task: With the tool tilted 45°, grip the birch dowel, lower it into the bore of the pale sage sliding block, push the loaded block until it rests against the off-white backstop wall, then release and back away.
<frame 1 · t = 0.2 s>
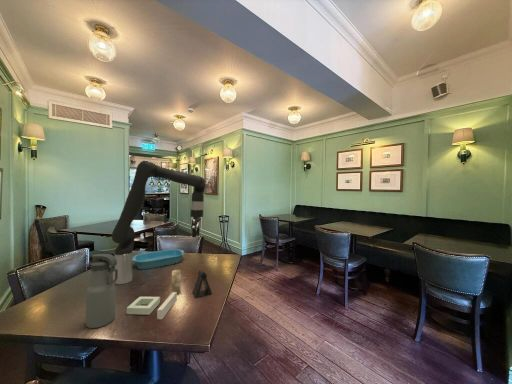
hand: (195, 236, 127), 28 cm above the table, tool pointing down, fingers open, 8 cm apart
water bottle: (101, 322, 89), on the table
dowel: (176, 293, 113), on the table
backstop wall: (167, 308, 98), on the table
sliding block: (144, 305, 99), point 2 cm above the table, slide at 0.0 cm
phone stand: (202, 294, 113), on the table
casserole dish: (159, 263, 161), on the table
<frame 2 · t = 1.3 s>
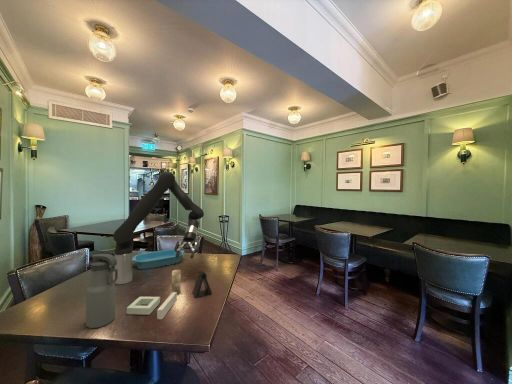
hand: (184, 257, 125), 16 cm above the table, tool tilted 45°, fingers open, 8 cm apart
nothing on the table moved.
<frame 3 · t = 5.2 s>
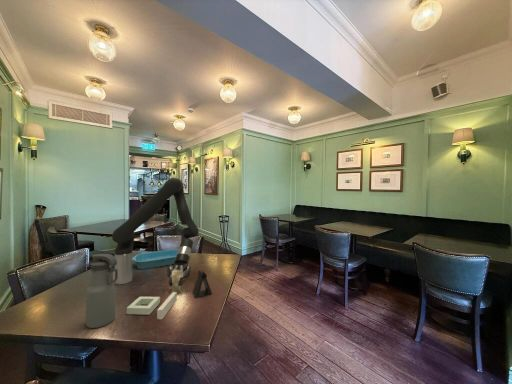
hand: (174, 285, 112), 5 cm above the table, tool tilted 45°, fingers closed on dowel, 4 cm apart
dowel: (176, 293, 113), on the table, touching gripper
when the fingers open (6 cm above the table, at t = 12.1 s): dowel drops 1 cm, resting in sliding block.
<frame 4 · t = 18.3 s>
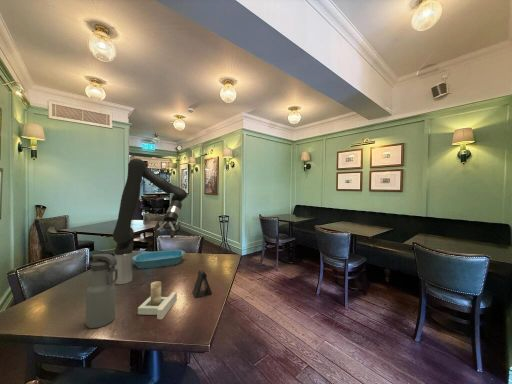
hand: (163, 237, 120), 29 cm above the table, tool tilted 45°, fingers open, 8 cm apart
dowel: (155, 308, 98), resting in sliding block
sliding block: (154, 305, 99), point 2 cm above the table, slide at 5.0 cm, touching backstop wall
at the end: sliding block slide at 5.0 cm; dowel 0.3 cm from the target spot, resting in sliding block; dowel tilted 0° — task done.
